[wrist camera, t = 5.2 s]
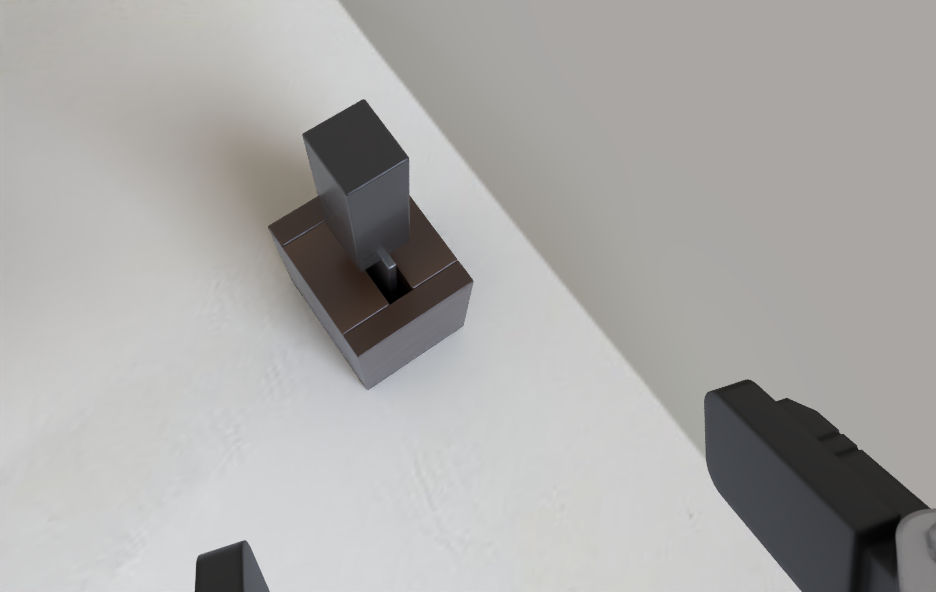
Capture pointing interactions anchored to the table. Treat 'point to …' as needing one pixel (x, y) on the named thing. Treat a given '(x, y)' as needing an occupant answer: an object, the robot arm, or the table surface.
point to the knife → (362, 190)
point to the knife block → (375, 291)
